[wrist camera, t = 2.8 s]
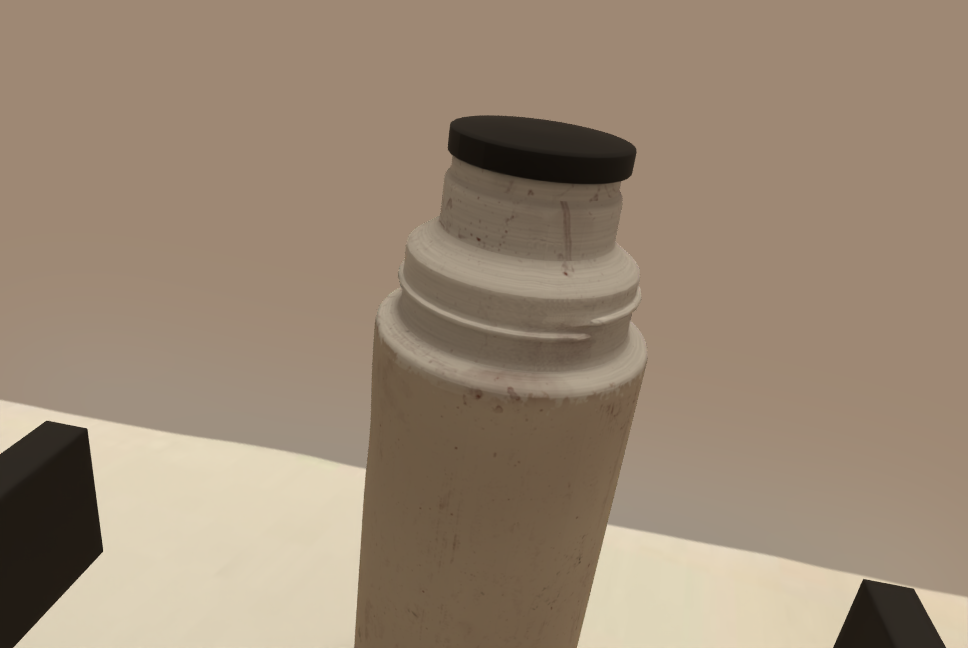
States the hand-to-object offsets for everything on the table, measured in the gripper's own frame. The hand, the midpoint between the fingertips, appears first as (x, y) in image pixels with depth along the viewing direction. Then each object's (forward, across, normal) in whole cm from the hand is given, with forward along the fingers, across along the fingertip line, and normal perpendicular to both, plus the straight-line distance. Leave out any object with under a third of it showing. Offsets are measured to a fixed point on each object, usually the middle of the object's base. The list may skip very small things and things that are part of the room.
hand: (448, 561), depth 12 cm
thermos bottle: (+10, 0, -22) cm, 24 cm away
